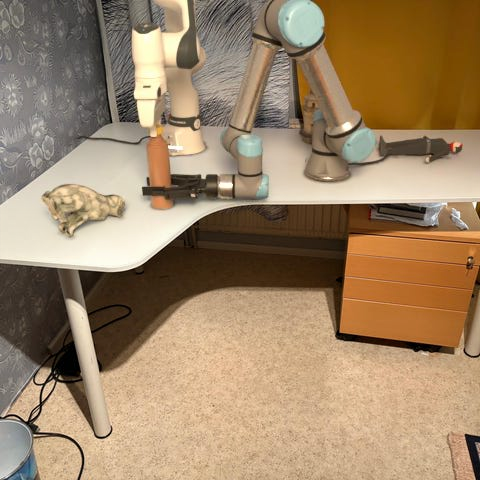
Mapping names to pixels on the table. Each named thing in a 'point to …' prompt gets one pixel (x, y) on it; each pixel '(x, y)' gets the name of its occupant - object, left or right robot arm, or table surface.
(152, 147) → the bottle
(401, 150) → the toy
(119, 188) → the table surface
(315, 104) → the miniature building
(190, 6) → the left robot arm
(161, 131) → the cap
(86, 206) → the figurine
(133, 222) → the table surface
